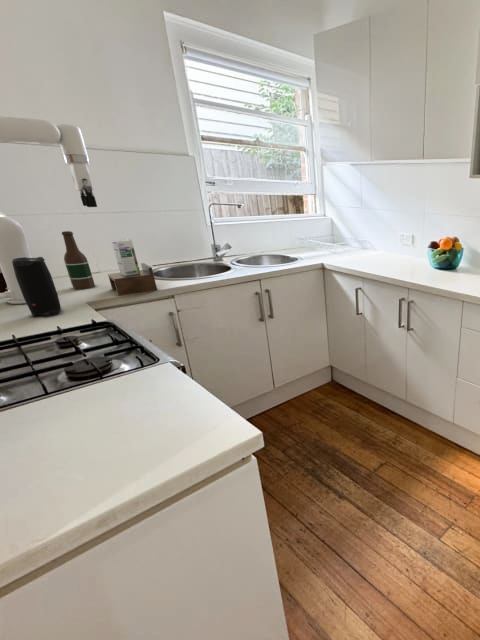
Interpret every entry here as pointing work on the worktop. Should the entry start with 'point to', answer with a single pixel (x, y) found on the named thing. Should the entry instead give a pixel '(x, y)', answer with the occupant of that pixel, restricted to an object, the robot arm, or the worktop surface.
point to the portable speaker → (37, 286)
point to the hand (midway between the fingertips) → (90, 206)
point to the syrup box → (126, 257)
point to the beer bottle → (76, 264)
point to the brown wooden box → (133, 281)
